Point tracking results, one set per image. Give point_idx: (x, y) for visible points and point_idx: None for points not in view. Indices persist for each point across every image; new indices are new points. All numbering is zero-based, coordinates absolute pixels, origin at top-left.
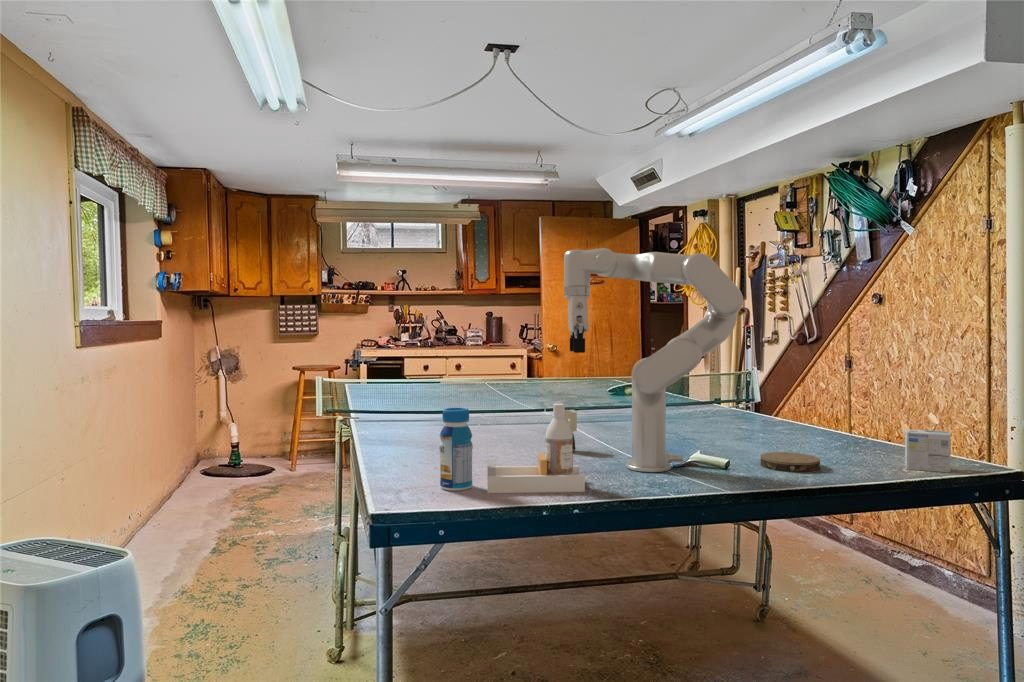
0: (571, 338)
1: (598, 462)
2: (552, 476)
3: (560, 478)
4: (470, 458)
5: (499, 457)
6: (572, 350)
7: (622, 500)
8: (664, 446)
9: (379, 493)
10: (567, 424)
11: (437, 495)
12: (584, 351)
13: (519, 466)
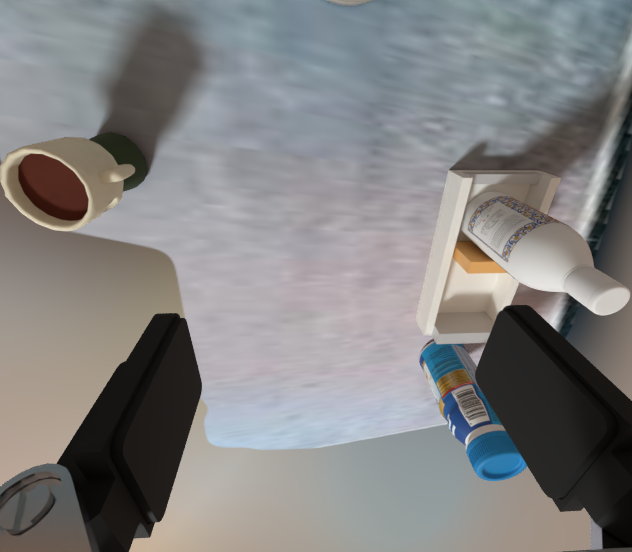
0: (156, 517)
1: (266, 85)
2: None
3: None
4: (474, 371)
5: (221, 307)
6: (197, 376)
7: (628, 102)
8: None
9: None
10: (588, 251)
11: None
12: (526, 311)
13: (439, 290)
